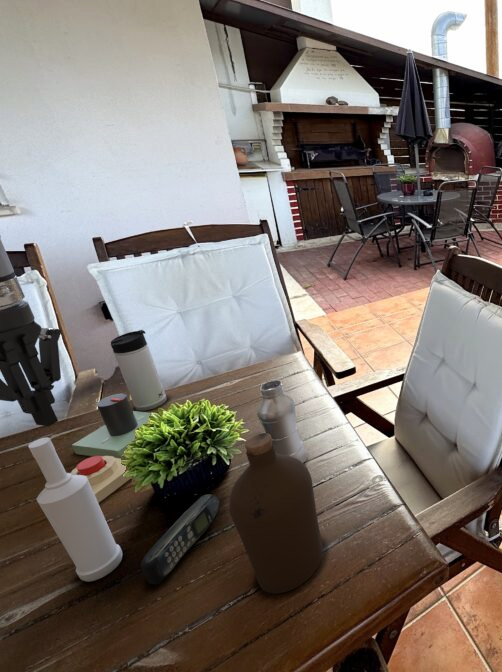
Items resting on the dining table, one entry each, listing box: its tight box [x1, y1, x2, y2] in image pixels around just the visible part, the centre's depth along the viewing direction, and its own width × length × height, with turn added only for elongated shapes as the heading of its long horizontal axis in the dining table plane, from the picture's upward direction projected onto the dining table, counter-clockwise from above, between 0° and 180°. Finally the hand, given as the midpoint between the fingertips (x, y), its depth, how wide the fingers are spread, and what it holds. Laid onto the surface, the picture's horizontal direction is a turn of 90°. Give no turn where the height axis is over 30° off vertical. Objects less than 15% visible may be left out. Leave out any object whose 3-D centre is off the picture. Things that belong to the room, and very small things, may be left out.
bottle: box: [28, 437, 123, 582], centre depth 60 cm, size 5×5×25 cm
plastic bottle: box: [256, 379, 307, 464], centre depth 81 cm, size 6×7×20 cm
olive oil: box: [228, 432, 324, 595], centre depth 60 cm, size 11×11×25 cm
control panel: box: [71, 410, 152, 459], centre depth 92 cm, size 12×12×3 cm
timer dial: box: [96, 393, 138, 436], centre depth 90 cm, size 5×5×8 cm
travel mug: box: [110, 329, 168, 412], centre depth 101 cm, size 6×7×20 cm
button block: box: [70, 456, 133, 504], centre depth 79 cm, size 10×9×4 cm
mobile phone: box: [140, 493, 220, 585], centre depth 68 cm, size 5×3×15 cm
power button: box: [75, 456, 105, 476], centre depth 78 cm, size 4×4×2 cm
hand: (47, 422), depth 74 cm, fingers closed
